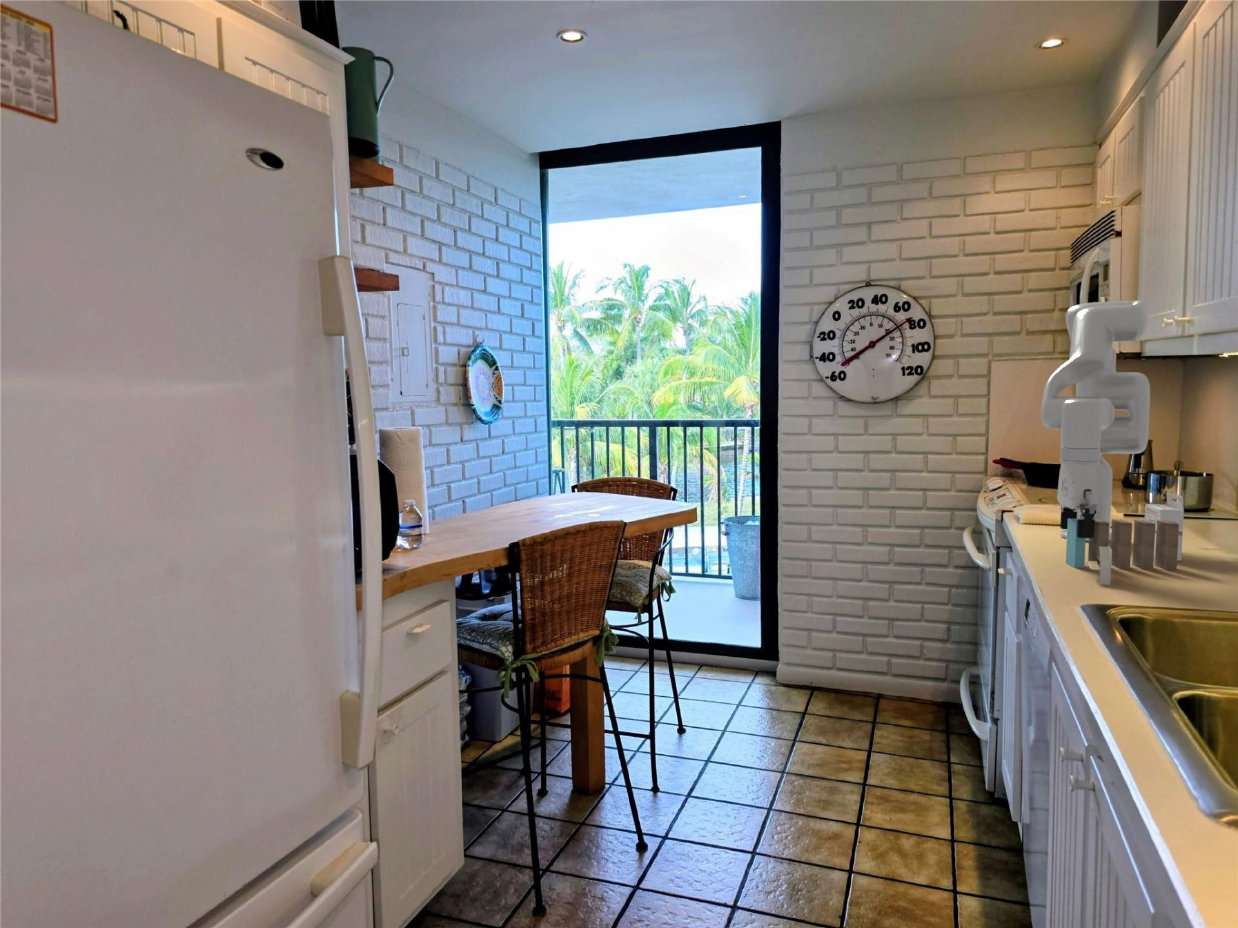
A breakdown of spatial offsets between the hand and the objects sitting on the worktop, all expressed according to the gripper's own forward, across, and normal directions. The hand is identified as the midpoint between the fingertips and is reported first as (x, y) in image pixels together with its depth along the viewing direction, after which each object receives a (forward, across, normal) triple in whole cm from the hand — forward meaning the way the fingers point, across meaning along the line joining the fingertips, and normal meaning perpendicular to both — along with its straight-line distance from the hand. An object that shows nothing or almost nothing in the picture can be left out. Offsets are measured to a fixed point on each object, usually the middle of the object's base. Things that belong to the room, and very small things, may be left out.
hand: (1076, 533), depth 176 cm
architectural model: (+7, +16, 0) cm, 17 cm away
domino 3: (+7, +1, +9) cm, 11 cm away
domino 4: (+7, +1, +13) cm, 15 cm away
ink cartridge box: (+8, -11, +22) cm, 26 cm away
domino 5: (+7, +1, +18) cm, 19 cm away
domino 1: (+7, +1, 0) cm, 7 cm away
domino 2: (+7, +1, +4) cm, 8 cm away
